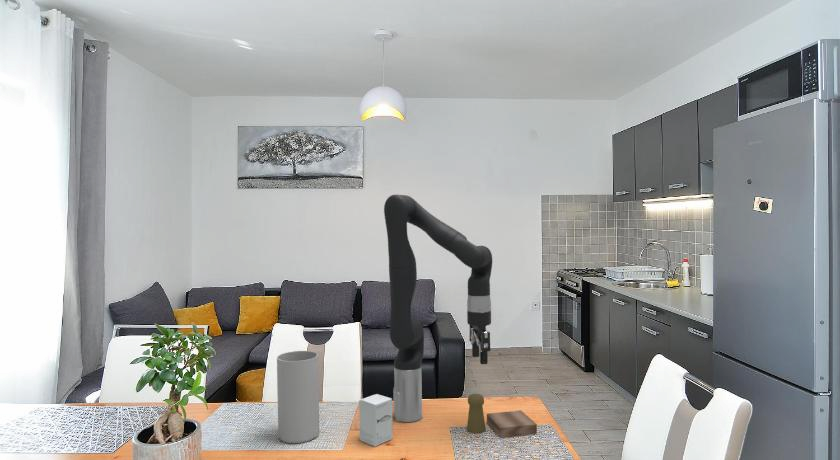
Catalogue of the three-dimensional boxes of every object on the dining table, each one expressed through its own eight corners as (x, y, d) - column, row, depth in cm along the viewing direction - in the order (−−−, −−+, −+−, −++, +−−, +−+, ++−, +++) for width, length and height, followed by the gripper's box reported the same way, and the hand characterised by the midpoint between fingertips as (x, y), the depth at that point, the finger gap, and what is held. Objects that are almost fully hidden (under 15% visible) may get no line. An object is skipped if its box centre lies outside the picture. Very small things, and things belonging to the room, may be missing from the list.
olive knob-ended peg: (485, 433, 159) (484, 398, 158) (465, 432, 160) (465, 397, 160) (486, 426, 165) (486, 392, 164) (467, 424, 166) (467, 391, 166)
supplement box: (375, 447, 150) (374, 404, 150) (358, 440, 155) (358, 399, 155) (393, 439, 155) (392, 398, 155) (377, 432, 161) (376, 392, 160)
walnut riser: (500, 437, 156) (500, 428, 155) (486, 422, 167) (486, 413, 167) (536, 433, 158) (536, 424, 158) (520, 419, 170) (520, 410, 170)
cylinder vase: (327, 431, 162) (326, 353, 162) (302, 447, 151) (301, 363, 150) (295, 425, 167) (294, 349, 167) (269, 440, 156) (268, 358, 156)
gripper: (461, 306, 167) (462, 355, 167) (474, 313, 153) (474, 367, 153) (483, 305, 169) (484, 353, 169) (498, 312, 155) (498, 365, 155)
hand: (479, 360), depth 161 cm, fingers open, 8 cm apart
